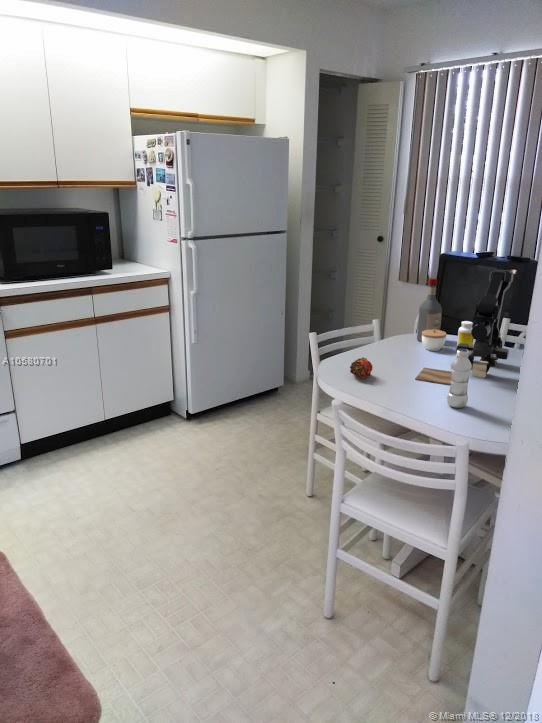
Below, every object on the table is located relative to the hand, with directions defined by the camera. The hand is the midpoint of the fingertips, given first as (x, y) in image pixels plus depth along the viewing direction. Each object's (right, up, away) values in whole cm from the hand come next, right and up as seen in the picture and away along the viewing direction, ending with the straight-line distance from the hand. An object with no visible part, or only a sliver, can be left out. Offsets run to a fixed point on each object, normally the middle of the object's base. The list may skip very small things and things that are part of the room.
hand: (479, 371), depth 209 cm
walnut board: (-17, -2, -1) cm, 17 cm away
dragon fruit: (-47, -2, 0) cm, 47 cm away
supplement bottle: (+5, +9, +31) cm, 33 cm away
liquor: (-7, +14, +45) cm, 48 cm away
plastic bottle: (-19, -12, -28) cm, 36 cm away
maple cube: (0, -1, 0) cm, 1 cm away
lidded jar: (-9, +10, +33) cm, 35 cm away
